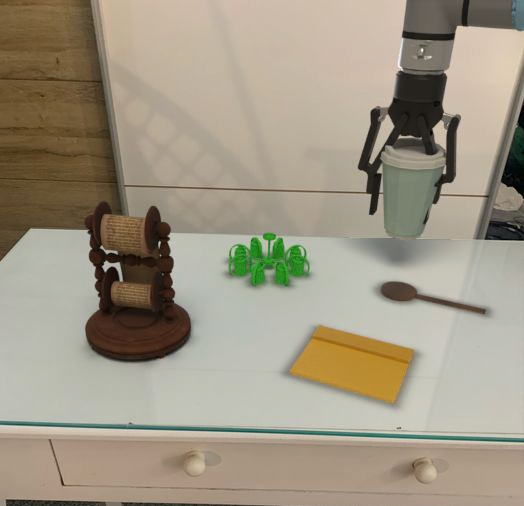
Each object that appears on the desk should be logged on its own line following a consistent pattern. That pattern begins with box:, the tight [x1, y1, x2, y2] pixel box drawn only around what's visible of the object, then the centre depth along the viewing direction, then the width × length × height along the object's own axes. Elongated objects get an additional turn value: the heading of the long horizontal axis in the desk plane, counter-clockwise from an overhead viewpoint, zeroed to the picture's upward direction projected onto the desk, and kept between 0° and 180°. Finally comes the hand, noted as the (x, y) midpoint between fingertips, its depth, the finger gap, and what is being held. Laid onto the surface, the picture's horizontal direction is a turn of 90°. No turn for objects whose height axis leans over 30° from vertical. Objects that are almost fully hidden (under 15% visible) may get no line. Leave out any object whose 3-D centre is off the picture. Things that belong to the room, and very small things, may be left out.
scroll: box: [83, 200, 192, 360], centre depth 75 cm, size 15×15×20 cm
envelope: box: [289, 324, 415, 405], centre depth 76 cm, size 14×12×2 cm
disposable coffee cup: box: [380, 137, 446, 241], centre depth 93 cm, size 11×11×15 cm
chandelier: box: [228, 232, 311, 287], centre depth 97 cm, size 15×15×7 cm
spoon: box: [380, 280, 487, 315], centre depth 91 cm, size 17×6×1 cm, turn 66°
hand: (398, 216), depth 96 cm, fingers open, 8 cm apart
